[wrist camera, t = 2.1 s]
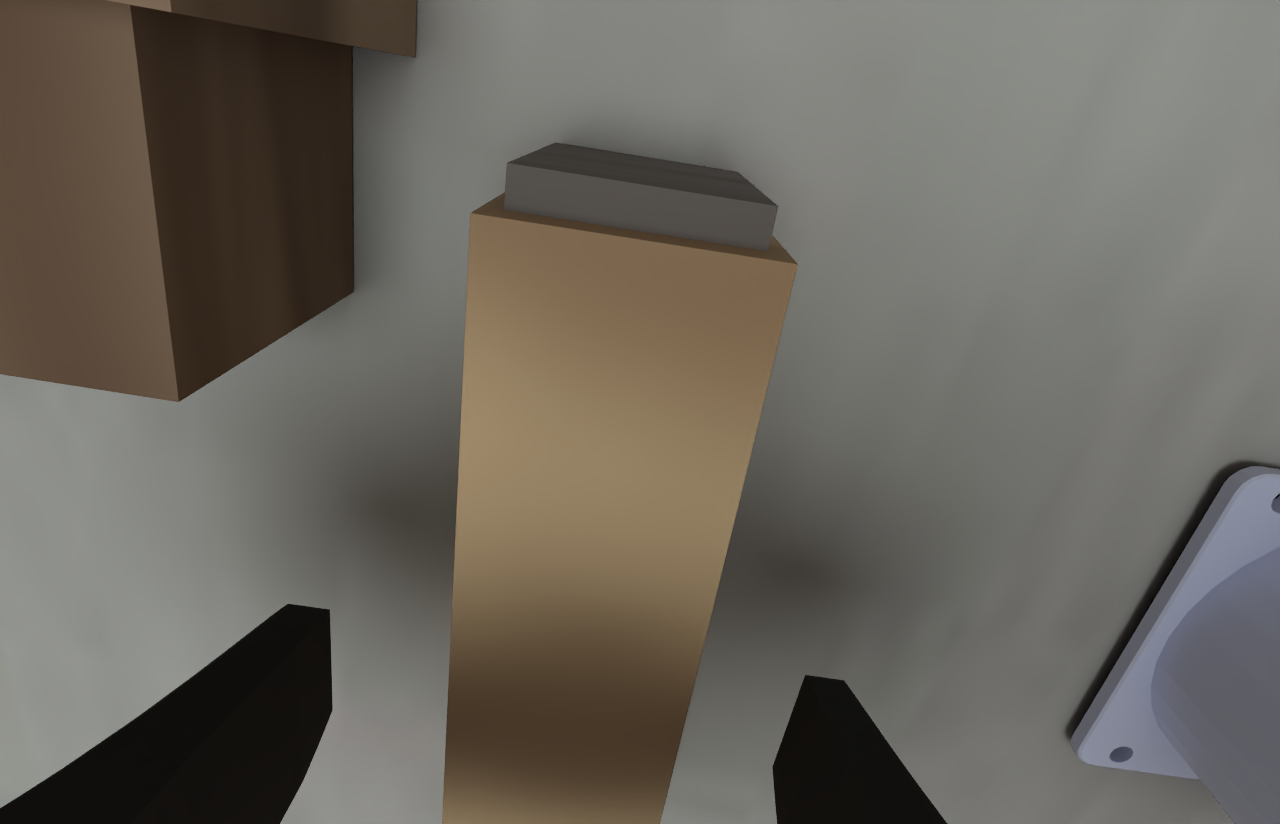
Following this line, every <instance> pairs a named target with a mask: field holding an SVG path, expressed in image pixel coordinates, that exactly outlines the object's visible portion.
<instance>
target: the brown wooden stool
mask: <svg viewBox="0 0 1280 824" xmlns="http://www.w3.org/2000/svg"><path fill="white" fill-rule="evenodd" d="M416 12H417V0H0V374H3V375H9V376H16V377H22V378H29V379H35V380H42V381H48V382H54V383H61V384H67V385H74V386H80V387H87V388H93V389H99V390H106V391H112V392H119V393H125V394H132V395H138V396H144V397H151V398H157V399H164V400H170V401H177V402H179V401H181V400H183V399H184V398H186V397H187V396H189V395H191V394H192V393H194V392H195V391H197V390H198V389H200V388H202V387H203V386H205V385H206V384H208V383H210V382H211V381H213V380H214V379H216V378H218V377H219V376H221V375H222V374H224V373H225V372H227V371H229V370H230V369H232V368H233V367H235V366H237V365H238V364H240V363H241V362H243V361H245V360H246V359H248V358H249V357H251V356H253V355H254V354H256V353H257V352H259V351H260V350H262V349H264V348H265V347H267V346H268V345H270V344H272V343H273V342H275V341H276V340H278V339H280V338H281V337H283V336H284V335H286V334H287V333H289V332H291V331H292V330H294V329H295V328H297V327H299V326H300V325H302V324H303V323H305V322H307V321H308V320H310V319H311V318H313V317H314V316H316V315H318V314H319V313H321V312H322V311H324V310H326V309H327V308H329V307H330V306H332V305H334V304H335V303H337V302H338V301H340V300H342V299H343V298H345V297H346V296H348V295H349V294H351V293H353V169H352V46H355V47H361V48H366V49H371V50H377V51H382V52H388V53H393V54H399V55H404V56H410V57H415V49H416Z"/></svg>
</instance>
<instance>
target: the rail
mask: <svg viewBox="0 0 1280 824" xmlns="http://www.w3.org/2000/svg"><path fill="white" fill-rule="evenodd" d="M777 209H778V206H777V205H776V204H775V203H774V202H772V201H771V200H770V199H769V198H768V197H766V196H765V195H764V194H763V193H762V192H761V191H759V190H758V189H757V188H756V187H755V186H754V185H752V184H751V183H750V182H749V181H748V180H746V179H745V178H744V177H743V176H742V175H741V174H739V173H738V172H733V171H727V170H721V169H715V168H709V167H702V166H696V165H690V164H684V163H678V162H672V161H665V160H659V159H653V158H647V157H641V156H634V155H628V154H622V153H616V152H610V151H604V150H597V149H591V148H585V147H579V146H573V145H567V144H560V143H554V144H551V145H549V146H546V147H544V148H542V149H539V150H537V151H534V152H532V153H530V154H527V155H525V156H522V157H520V158H518V159H515V160H513V161H510V162H508V163H507V171H506V186H505V193H503V194H501V195H500V196H498V197H496V198H495V199H493V200H491V201H490V202H488V203H486V204H485V205H483V206H481V207H480V208H478V209H477V210H475V211H473V212H472V213H471V214H470V236H469V257H468V278H467V300H466V321H465V343H464V364H463V386H462V407H461V429H460V450H459V471H458V493H457V514H456V536H455V557H454V579H453V600H452V622H451V643H450V664H449V686H448V707H447V729H446V750H445V772H444V793H443V815H442V824H660V821H661V817H662V813H663V809H664V805H665V801H666V797H667V793H668V789H669V785H670V781H671V777H672V773H673V769H674V765H675V760H676V756H677V752H678V748H679V744H680V740H681V736H682V732H683V728H684V724H685V720H686V716H687V712H688V708H689V704H690V700H691V696H692V692H693V687H694V683H695V679H696V675H697V671H698V667H699V663H700V659H701V655H702V651H703V647H704V643H705V639H706V635H707V631H708V627H709V623H710V619H711V614H712V610H713V606H714V602H715V598H716V594H717V590H718V586H719V582H720V578H721V574H722V570H723V566H724V562H725V558H726V554H727V550H728V545H729V541H730V537H731V533H732V529H733V525H734V521H735V517H736V513H737V509H738V505H739V501H740V497H741V493H742V489H743V485H744V481H745V477H746V472H747V468H748V464H749V460H750V456H751V452H752V448H753V444H754V440H755V436H756V432H757V428H758V424H759V420H760V416H761V412H762V408H763V404H764V399H765V395H766V391H767V387H768V383H769V379H770V375H771V371H772V367H773V363H774V359H775V355H776V351H777V347H778V343H779V339H780V335H781V331H782V326H783V322H784V318H785V314H786V310H787V306H788V302H789V298H790V294H791V290H792V286H793V282H794V278H795V274H796V270H797V266H798V264H797V263H796V262H795V261H794V259H793V258H792V257H791V256H790V255H789V254H788V253H787V251H786V250H785V249H784V248H783V247H782V246H781V245H780V244H779V242H778V241H777V240H776V239H775V238H774V237H773V236H772V231H773V226H774V222H775V218H776V213H777Z"/></svg>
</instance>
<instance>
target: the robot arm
mask: <svg viewBox="0 0 1280 824" xmlns="http://www.w3.org/2000/svg"><path fill="white" fill-rule="evenodd" d="M1278 494H1280V469H1274V468H1268V467H1262V466H1251V467H1248V468H1245V469H1241V470H1239V471H1237V472H1236V473H1234V474H1233V475H1231V476H1230V477H1229V478H1228V479H1227V480H1226V482H1225V483H1224V484H1223V486H1222V487H1221V489H1220V491H1219V492H1218V494H1217V496H1216V497H1215V499H1214V501H1213V502H1212V504H1211V506H1210V507H1209V509H1208V511H1207V512H1206V514H1205V516H1204V517H1203V519H1202V521H1201V522H1200V524H1199V526H1198V527H1197V529H1196V531H1195V532H1194V534H1193V536H1192V537H1191V539H1190V541H1189V542H1188V544H1187V546H1186V547H1185V549H1184V551H1183V552H1182V554H1181V556H1180V557H1179V559H1178V561H1177V562H1176V564H1175V566H1174V567H1173V569H1172V571H1171V572H1170V574H1169V576H1168V577H1167V579H1166V581H1165V582H1164V584H1163V586H1162V587H1161V589H1160V591H1159V592H1158V594H1157V596H1156V597H1155V599H1154V601H1153V602H1152V604H1151V606H1150V607H1149V609H1148V611H1147V612H1146V614H1145V616H1144V617H1143V619H1142V621H1141V622H1140V624H1139V626H1138V627H1137V629H1136V631H1135V632H1134V634H1133V636H1132V637H1131V639H1130V641H1129V642H1128V644H1127V646H1126V647H1125V649H1124V651H1123V652H1122V654H1121V656H1120V657H1119V659H1118V661H1117V662H1116V664H1115V666H1114V667H1113V669H1112V671H1111V672H1110V674H1109V676H1108V677H1107V679H1106V681H1105V682H1104V684H1103V686H1102V687H1101V689H1100V691H1099V692H1098V694H1097V696H1096V697H1095V699H1094V701H1093V702H1092V704H1091V706H1090V707H1089V709H1088V711H1087V712H1086V714H1085V716H1084V717H1083V719H1082V721H1081V722H1080V724H1079V726H1078V727H1077V729H1076V731H1075V732H1074V734H1073V736H1072V738H1071V742H1070V743H1071V746H1072V749H1073V750H1074V752H1075V753H1076V755H1077V756H1078V758H1079V759H1080V760H1081V761H1082V762H1084V763H1087V764H1090V765H1096V766H1103V767H1110V768H1118V769H1125V770H1132V771H1139V772H1146V773H1154V774H1161V775H1168V776H1175V777H1182V778H1190V779H1197V780H1201V782H1202V783H1203V784H1204V785H1205V787H1206V788H1207V789H1208V790H1209V792H1210V793H1211V794H1212V795H1213V797H1214V798H1215V799H1216V800H1217V802H1218V803H1219V804H1220V805H1221V807H1222V808H1223V809H1224V810H1225V812H1226V813H1227V814H1228V815H1229V817H1230V818H1231V819H1232V820H1233V821H1234V823H1235V824H1280V496H1279V497H1278V498H1277V499H1275V500H1273V499H1274V498H1275V497H1276V496H1277V495H1278ZM331 712H332V675H331V638H330V610H329V609H321V608H314V607H307V606H299V605H292V604H287V605H286V606H284V607H283V608H281V609H280V610H279V611H277V612H276V613H275V614H273V615H272V616H271V617H269V618H268V619H267V620H265V621H264V622H263V623H261V624H260V625H259V626H258V627H256V628H255V629H254V630H252V631H251V632H250V633H249V634H247V635H246V636H245V637H243V638H242V639H241V640H240V641H238V642H237V643H236V644H234V645H233V646H232V647H231V648H229V649H228V650H227V651H225V652H224V653H223V654H221V655H220V656H219V657H218V658H216V659H215V660H214V661H212V662H211V663H210V664H208V665H207V666H206V667H204V668H203V669H202V670H201V671H199V672H198V673H197V674H195V675H194V676H193V677H191V678H190V679H189V680H187V681H186V682H184V683H183V684H182V685H180V686H179V687H178V688H176V689H175V690H174V691H172V692H171V693H170V694H168V695H167V696H165V697H164V698H163V699H161V700H160V701H159V702H157V703H156V704H155V705H153V706H152V707H151V708H149V709H148V710H147V711H145V712H144V713H142V714H141V715H140V716H138V717H137V718H135V719H134V720H133V721H131V722H130V723H128V724H127V725H125V726H124V727H123V728H121V729H120V730H118V731H117V732H115V733H114V734H112V735H111V736H109V737H108V738H106V739H105V740H104V741H102V742H101V743H99V744H98V745H96V746H95V747H93V748H92V749H90V750H89V751H87V752H86V753H85V754H83V755H82V756H80V757H79V758H77V759H76V760H74V761H73V762H71V763H70V764H68V765H67V766H66V767H64V768H63V769H61V770H60V771H58V772H56V773H55V774H53V775H52V776H50V777H49V778H47V779H46V780H44V781H43V782H41V783H39V784H38V785H36V786H35V787H33V788H32V789H30V790H29V791H27V792H26V793H24V794H22V795H21V796H19V797H18V798H16V799H14V800H13V801H11V802H10V803H8V804H6V805H5V806H3V807H2V808H0V824H280V822H281V821H282V819H283V817H284V815H285V813H286V811H287V810H288V808H289V806H290V804H291V802H292V800H293V799H294V797H295V795H296V793H297V791H298V789H299V787H300V786H301V784H302V782H303V780H304V777H305V775H306V773H307V770H308V768H309V766H310V763H311V761H312V759H313V756H314V754H315V752H316V749H317V747H318V745H319V742H320V740H321V737H322V735H323V732H324V730H325V727H326V725H327V722H328V720H329V717H330V715H331ZM773 779H774V791H775V804H776V814H777V824H947V823H946V821H945V820H944V819H943V817H942V816H941V815H940V813H939V812H938V811H937V809H936V808H935V807H934V805H933V804H932V803H931V801H930V800H929V799H928V797H927V796H926V795H925V793H924V792H923V791H922V789H921V788H920V787H919V785H918V784H917V783H916V781H915V780H914V778H913V777H912V776H911V774H910V773H909V772H908V770H907V769H906V767H905V766H904V765H903V763H902V762H901V760H900V759H899V758H898V756H897V755H896V753H895V752H894V751H893V749H892V748H891V746H890V745H889V744H888V742H887V741H886V739H885V738H884V736H883V735H882V734H881V732H880V731H879V729H878V728H877V727H876V725H875V724H874V722H873V721H872V719H871V718H870V717H869V715H868V714H867V712H866V711H865V709H864V708H863V707H862V705H861V704H860V702H859V701H858V699H857V698H856V697H855V695H854V694H853V692H852V691H851V690H850V688H849V687H848V685H847V684H846V683H845V681H844V680H837V679H829V678H822V677H815V676H808V675H805V677H804V680H803V683H802V686H801V689H800V691H799V694H798V697H797V700H796V703H795V706H794V708H793V711H792V714H791V717H790V720H789V722H788V725H787V728H786V731H785V734H784V737H783V739H782V742H781V745H780V748H779V751H778V753H777V756H776V759H775V762H774V765H773Z"/></svg>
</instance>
